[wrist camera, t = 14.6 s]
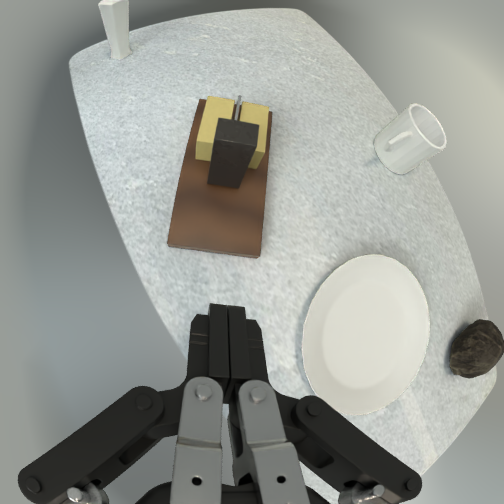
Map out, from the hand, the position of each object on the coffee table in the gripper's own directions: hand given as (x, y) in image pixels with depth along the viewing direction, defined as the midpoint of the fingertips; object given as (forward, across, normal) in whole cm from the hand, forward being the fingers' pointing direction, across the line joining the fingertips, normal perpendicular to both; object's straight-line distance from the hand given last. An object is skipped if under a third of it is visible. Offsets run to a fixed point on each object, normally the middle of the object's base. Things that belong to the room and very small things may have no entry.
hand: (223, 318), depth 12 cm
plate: (+11, -21, +14) cm, 28 cm away
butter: (+26, 0, -3) cm, 26 cm away
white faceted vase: (+39, +21, -14) cm, 47 cm away
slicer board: (+24, 0, +1) cm, 24 cm away
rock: (+8, -45, +17) cm, 48 cm away
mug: (+31, -25, -6) cm, 40 cm away
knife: (+24, 0, -2) cm, 24 cm away
